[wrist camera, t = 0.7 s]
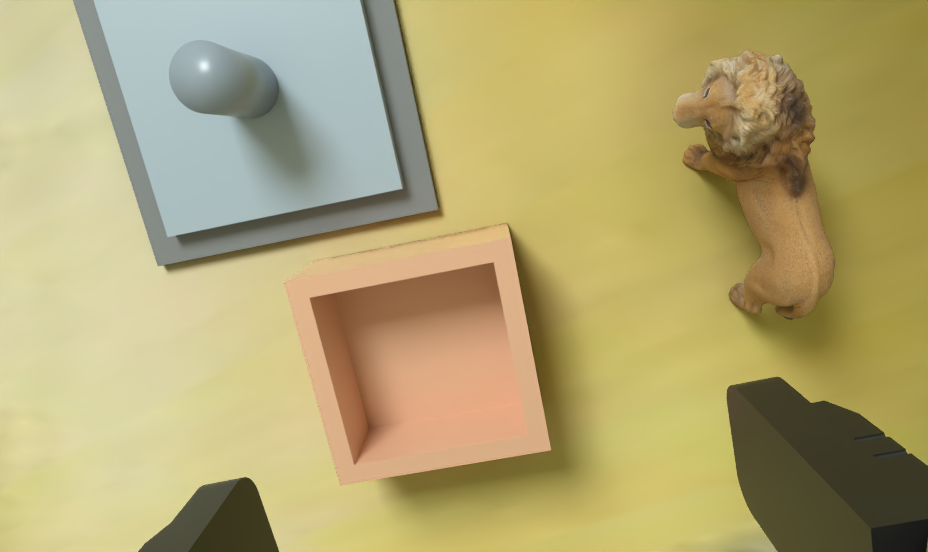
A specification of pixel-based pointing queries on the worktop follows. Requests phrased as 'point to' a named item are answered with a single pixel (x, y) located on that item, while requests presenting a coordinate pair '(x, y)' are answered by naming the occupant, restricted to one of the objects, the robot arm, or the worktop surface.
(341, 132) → the lid
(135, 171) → the mat
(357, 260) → the dish
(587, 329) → the worktop surface
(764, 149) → the lion figurine
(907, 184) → the worktop surface
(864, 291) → the worktop surface
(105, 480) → the worktop surface
